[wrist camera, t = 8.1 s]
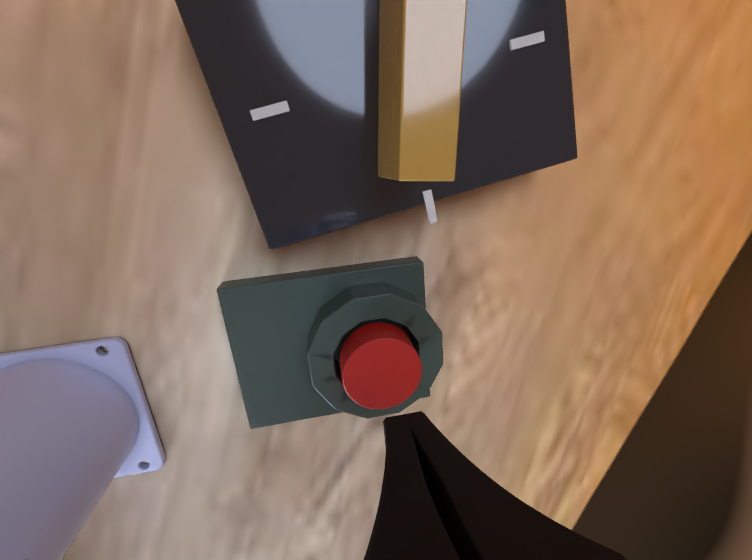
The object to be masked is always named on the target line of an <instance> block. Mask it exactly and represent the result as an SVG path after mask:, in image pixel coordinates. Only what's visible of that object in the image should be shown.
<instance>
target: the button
mask: <svg viewBox="0 0 752 560" xmlns="http://www.w3.org/2000/svg"><path fill="white" fill-rule="evenodd" d="M340 367H341V375H342V382H343V386H344V389H345V391H346V393H347V394H348V396H349V397H350V398H351V399H352V400H353V401H354V402H356V403H357V404H359V405H361V406H363V407H366V408H370V409H386V408H391V407H393V406H396V405H398V404H400V403H402V402H403V401H405V400H406V399H408V398H409V397H410V396H411V395H412V394H413V392H414V391H415V390H416V388H417V386H418V384H419V382H420V379H421V374H422V365H421V360H420V358H419V356H418V354H417V352H416V350H415V348H414V346H413V345H412V343H411V341H410V339H409V337H408V336H407V335H406V333H405V332H404V331H403V330H401V329H400V328H398V327H397V326H395V325H392V324H389V323H383V322H376V323H370V324H366V325H363V326H361V327H359V328H358V329H356V330H355V331H353V332H352V333H351V334H350V335H349V336H348V337H347V339H346V340H345V342H344V343H343V345H342V348H341V351H340Z"/></svg>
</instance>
